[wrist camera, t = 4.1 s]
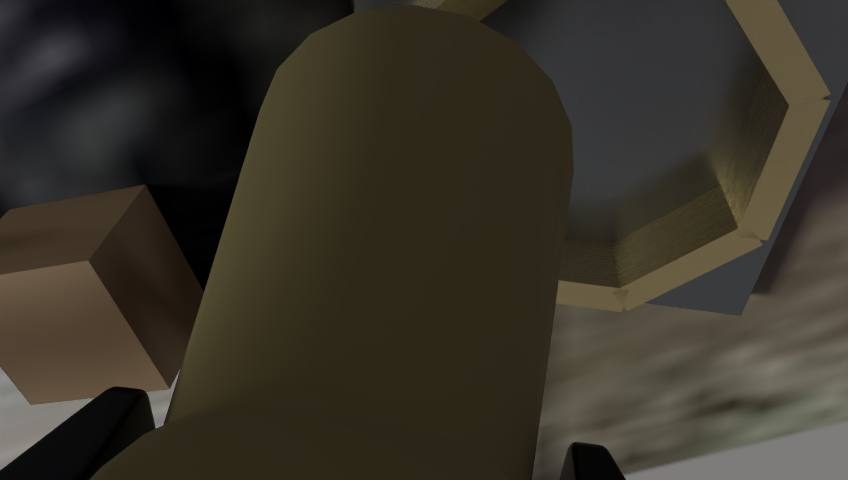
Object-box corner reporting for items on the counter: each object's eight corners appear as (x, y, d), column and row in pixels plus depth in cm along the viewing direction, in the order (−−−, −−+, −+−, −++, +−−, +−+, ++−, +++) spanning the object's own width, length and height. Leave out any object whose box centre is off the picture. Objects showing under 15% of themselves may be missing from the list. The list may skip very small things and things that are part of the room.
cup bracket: (733, 294, 23) (757, 363, 21) (351, 243, 24) (332, 306, 21) (917, -127, 16) (987, -95, 14) (368, -190, 17) (343, -170, 14)
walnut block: (212, 303, 26) (169, 388, 23) (88, 320, 27) (30, 405, 24) (147, 182, 23) (88, 260, 20) (12, 207, 24) (-65, 285, 21)
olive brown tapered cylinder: (235, -2, 13) (-395, 683, 4) (596, 11, 12) (800, 823, 3) (275, 275, 16) (-9, 964, 7) (556, 293, 16) (608, 1051, 7)
